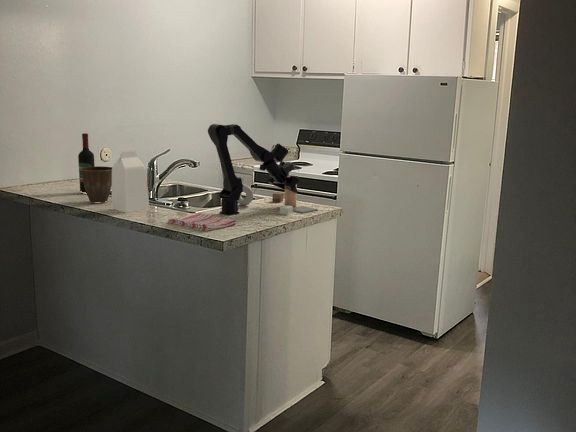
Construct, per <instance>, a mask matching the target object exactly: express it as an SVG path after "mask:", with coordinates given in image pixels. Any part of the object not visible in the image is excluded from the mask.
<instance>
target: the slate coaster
mask: <svg viewBox="0 0 576 432" xmlns="http://www.w3.org/2000/svg"><path fill="white" fill-rule="evenodd" d="M318 211H319V209H318V208H314V207H308V206H305V205H300V206H295V207H293V213H294V212H295V213H300V214H306V213H311V212H318Z"/></svg>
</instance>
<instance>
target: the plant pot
mask: <svg viewBox="0 0 576 432" xmlns="http://www.w3.org/2000/svg"><path fill="white" fill-rule="evenodd" d="M112 167H113V166H112ZM112 167H111V166H95V167H84V168H81V175H82V179H83V183H84V187H85V190H86V193H87V194H86V195H87V197H88V198H87V199H88V200H89V202H90V201H91V202H105V201H107V202H108V199H109V197H110V194H111V191H112ZM91 202H90V203H91Z"/></svg>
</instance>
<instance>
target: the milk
mask: <svg viewBox="0 0 576 432" xmlns="http://www.w3.org/2000/svg"><path fill="white" fill-rule="evenodd" d="M119 155H120V156H119V158H118V159H117V160H116V161H115V163H114V164H113V166H112V186H111V209H112V208H113V209H116V210H120V211H123V212H131V213H133V212H132V211H137V212H141V211H140V210H144V211H148V210H149V211H150V201H149V189H148V179H147V168H146V166H145V165H144V163H143V162H142V160H140V158H139V157H138V155H137V152H136V151H135V150H121V153H120V154H119ZM116 210H115V211H116ZM123 212H122V213H123Z"/></svg>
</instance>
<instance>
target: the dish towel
mask: <svg viewBox="0 0 576 432" xmlns="http://www.w3.org/2000/svg"><path fill="white" fill-rule="evenodd" d="M167 222H169V224H172V223H173V225H178V226H183V227H185V228H189V229H193V230H195V231H196V230H197V231H201V232H209V231H212V230H218V229H223V228H226V227H230V226H235V225H236V223H237V220H236V219H233V218H232V219H231V218H223V217H220V216H213V215H211V214H208V213H204V212H197V213H195V214H194V213H193V214H190V215H184V216H181V217H177V218H169V219H168V220H167Z"/></svg>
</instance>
